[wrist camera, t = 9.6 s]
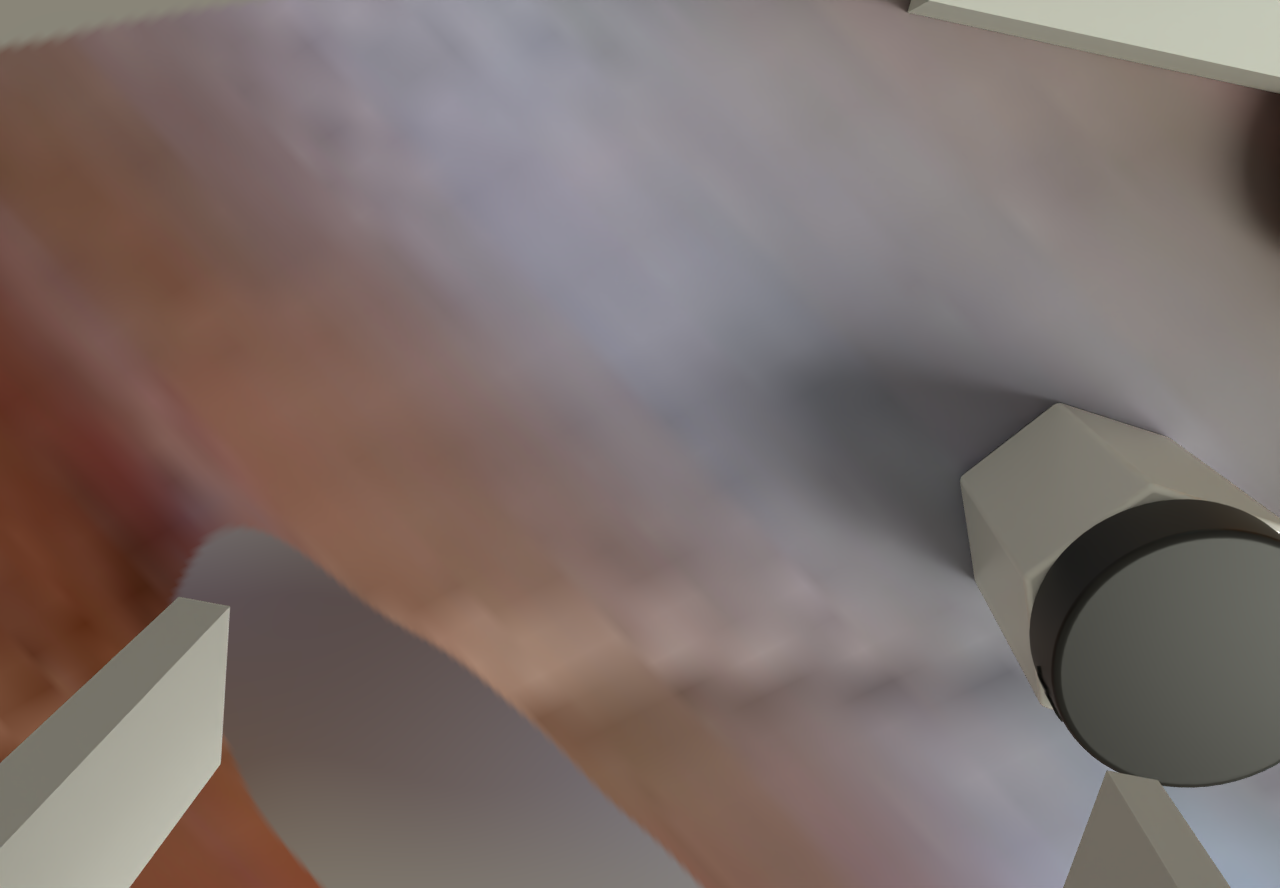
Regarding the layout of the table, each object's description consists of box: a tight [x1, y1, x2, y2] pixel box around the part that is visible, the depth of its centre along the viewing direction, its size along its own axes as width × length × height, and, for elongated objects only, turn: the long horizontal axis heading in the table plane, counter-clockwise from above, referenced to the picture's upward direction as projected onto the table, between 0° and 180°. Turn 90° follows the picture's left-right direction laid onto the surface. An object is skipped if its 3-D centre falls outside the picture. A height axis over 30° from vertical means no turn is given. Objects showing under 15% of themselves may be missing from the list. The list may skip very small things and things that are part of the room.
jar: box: [960, 403, 1280, 787], centre depth 35 cm, size 9×8×12 cm
